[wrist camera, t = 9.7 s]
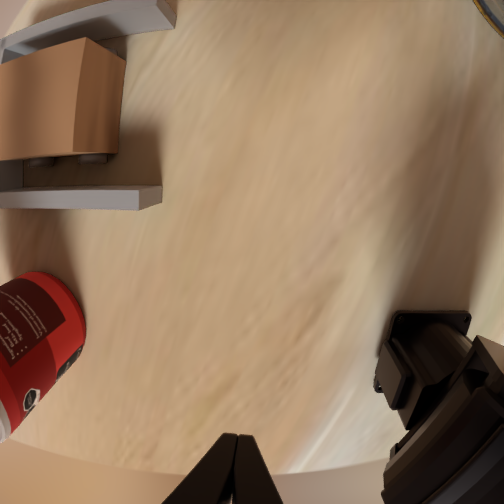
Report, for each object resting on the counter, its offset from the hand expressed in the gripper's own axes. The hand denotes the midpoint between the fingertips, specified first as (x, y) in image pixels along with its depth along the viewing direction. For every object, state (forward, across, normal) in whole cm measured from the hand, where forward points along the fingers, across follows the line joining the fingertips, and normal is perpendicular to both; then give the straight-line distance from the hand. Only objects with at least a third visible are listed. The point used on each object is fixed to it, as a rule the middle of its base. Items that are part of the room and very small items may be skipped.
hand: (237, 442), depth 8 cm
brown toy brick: (+12, +12, -11) cm, 20 cm away
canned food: (+12, +16, +4) cm, 21 cm away
